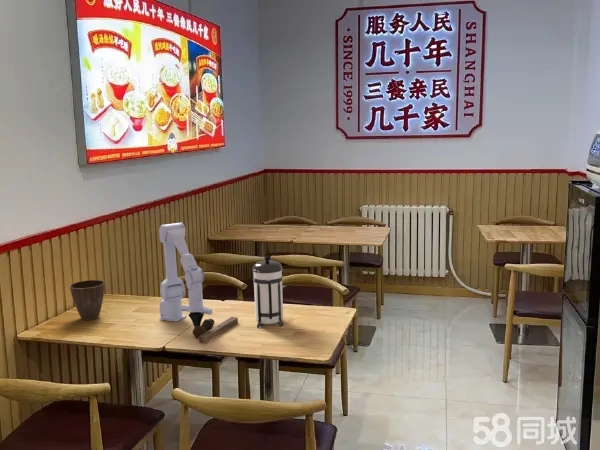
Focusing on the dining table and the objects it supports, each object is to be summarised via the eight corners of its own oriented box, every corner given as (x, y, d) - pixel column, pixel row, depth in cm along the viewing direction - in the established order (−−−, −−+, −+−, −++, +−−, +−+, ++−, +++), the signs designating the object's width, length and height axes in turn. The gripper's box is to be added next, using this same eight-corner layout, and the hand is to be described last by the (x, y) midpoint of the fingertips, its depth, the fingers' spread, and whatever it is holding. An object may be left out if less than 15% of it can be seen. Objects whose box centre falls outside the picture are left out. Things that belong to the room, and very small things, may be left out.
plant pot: (68, 317, 270) (65, 283, 267) (100, 310, 279) (97, 278, 276) (78, 325, 258) (75, 290, 255) (111, 318, 267) (109, 284, 264)
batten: (199, 342, 233) (198, 336, 233) (231, 322, 257) (231, 316, 256) (205, 343, 232) (205, 337, 232) (237, 322, 256) (237, 316, 255)
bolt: (213, 330, 253) (200, 341, 238) (203, 324, 253) (190, 335, 239) (219, 319, 252) (207, 329, 237) (209, 313, 252) (196, 323, 238)
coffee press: (243, 325, 253) (240, 257, 248) (269, 315, 264) (267, 250, 259) (271, 333, 241) (268, 262, 236) (298, 323, 252) (295, 255, 247)
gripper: (175, 298, 243) (177, 330, 245) (205, 302, 237) (207, 334, 240) (185, 294, 250) (187, 324, 252) (214, 297, 244) (216, 328, 246)
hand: (197, 329), depth 246 cm, fingers closed
